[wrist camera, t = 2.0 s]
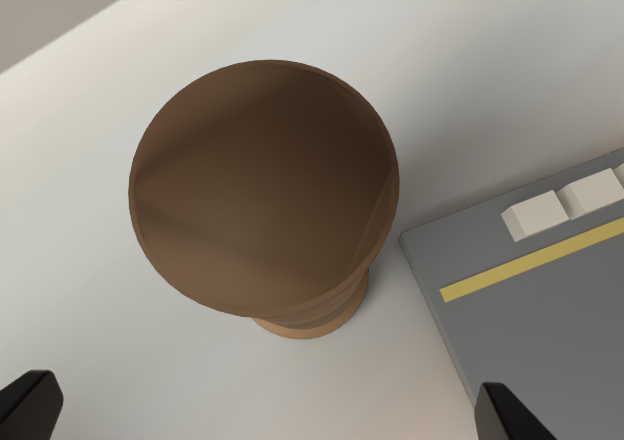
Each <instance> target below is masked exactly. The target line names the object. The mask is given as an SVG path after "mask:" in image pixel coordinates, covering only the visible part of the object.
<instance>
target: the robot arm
mask: <svg viewBox="0 0 624 440" xmlns="http://www.w3.org/2000/svg"><path fill="white" fill-rule="evenodd" d="M62 406H63V394H62V391H61V389H60V387H59V384H58V382H57V380H56V377H55V375H54V373H53V372H52V371H50V370H30V371H28V372H27V373H25V374H24V375H22V376H21V377H19V378H18V379H16V380H15V381H14V382H12V383H11V384H9V385H8V386H6V387H5V388H3V389H2V390H1V391H0V440H50V438H51V435H52V432H53V430H54V427H55V425H56V422H57V419H58V417H59V414H60V412H61V409H62ZM474 415H475V422H476V428H477V433H478V438H479V440H557V439H556V437H555V436H554V435H553V434H552V433H551V432H550V431H549V430H548V429H547V428H546V427H545V426H544V425H543V424H542V423H541V422H540V421H539V420H538V419H537V417H536V416H535V415H534V414H533V413H532V412H531V411H530V410H529V409H528V408H527V407H526V406H525V405H524V404H523V403H522V402H521V401H520V400H519V399H518V398H517V396H516V395H515V394H514V393H513V392H512V391H511V390H510V389H509V388H508V387H507V386H506V385H505V384H503V383H501V382H483V383H482V384H481V386H480V389H479V393H478V397H477V401H476V405H475V411H474Z"/></svg>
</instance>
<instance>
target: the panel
mask: <svg viewBox="0 0 624 440" xmlns="http://www.w3.org/2000/svg"><path fill="white" fill-rule="evenodd" d="M623 163H624V148H623V149H620V150H617V151H615V152H612V153H610V154H607V155H604V156H602V157H599V158H597V159H594V160H591V161H589V162H586V163H584V164H581V165H578V166H576V167H573V168H571V169H568V170H565V171H563V172H560V173H557V174H555V175H552V176H550V177H547V178H544V179H542V180H539V181H537V182H534V183H531V184H529V185H526V186H524V187H521V188H518V189H516V190H513V191H510V192H508V193H505V194H503V195H500V196H497V197H495V198H492V199H490V200H487V201H484V202H482V203H479V204H477V205H474V206H471V207H469V208H466V209H463V210H461V211H458V212H456V213H453V214H450V215H448V216H445V217H443V218H440V219H437V220H435V221H432V222H430V223H427V224H424V225H422V226H419V227H416V228H414V229H411V230H409V231H406V232H403V233H401V235H400V236H399V238H398V239H399V241H400V244H401V246H402V248H403V250H404V253H405V255H406V257H407V259H408V262H409V264H410V266H411V268H412V271H413V273H414V275H415V277H416V280H417V282H418V284H419V286H420V289H421V291H422V293H423V295H424V298H425V300H426V302H427V304H428V307H429V309H430V311H431V313H432V316H433V318H434V320H435V322H436V325H437V327H438V329H439V331H440V334H441V336H442V338H443V340H444V343H445V345H446V347H447V349H448V352H449V354H450V356H451V358H452V360H453V363H454V365H455V367H456V369H457V372H458V374H459V376H460V378H461V381H462V383H463V385H464V387H465V390H466V392H467V394H468V396H469V399H470V401H471V403H472V405H473V408H474V410H475V405H476V401H477V397H478V393H479V389H480V386H481V384H482V383H483V382H501V383H503V384H505V385H506V386H507V387H508V388H509V389H510V390H511V391H512V392H513V393H514V394H515V395H516V396H517V398H518V399H519V400H520V401H521V402H522V403H523V404H524V405H525V406H526V407H527V408H528V409H529V410H530V411H531V412H532V413H533V414H534V415H535V416H536V417H537V419H538V420H539V421H540V422H541V423H542V424H543V425H544V426H545V427H546V428H547V429H548V430H549V431H550V432H551V433H552V434H553V435H554V436H555V437H556V439H557V440H624V199H622V200H620V201H618V202H616V203H614V204H612V205H610V206H607V207H604V208H602V209H599V210H597V211H594V212H592V213H589V214H586V215H584V216H581V217H579V218H576V219H574V220H570V218H569V220H567V221H565V222H563V223H562V224H560V225H558V226H556V227H553V228H551V229H548V230H545V231H543V232H540V233H538V234H535V235H533V236H530V237H528V238H525V239H522V240H520V241H517V242H515V241H514V239H513V237H512V235H511V233H510V232H509V230H508V228H507V226H506V224H505V222H504V220H503V218H502V216H501V213H503V212H504V211H505V210H506V209H508V208H509V207H510V206H513V205H515V204H518V203H520V202H523V201H526V200H528V199H531V198H533V197H536V196H539V195H541V194H544V193H546V192H549V191H552V190H553V191H554V192H555V194H556V192H558V191H559V190H561V189H562V188H564V187H565V186H566V185H568V184H570V183H572V182H575V181H578V180H580V179H583V178H585V177H588V176H591V175H593V174H596V173H598V172H601V171H604V170H606V169H609V168H611V169H612V170H614V169H615V168H617V167H619V166H620V165H622V164H623ZM556 196H557V195H556ZM557 198H558V196H557ZM558 199H559V198H558ZM559 201H560V200H559ZM560 203H561V202H560ZM561 205H562V204H561ZM562 207H563V205H562ZM563 208H564V207H563ZM564 210H565V209H564ZM565 212H566V211H565ZM566 214H567V212H566ZM567 215H568V214H567ZM568 217H569V216H568Z"/></svg>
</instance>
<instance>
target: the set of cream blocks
mask: <svg viewBox="0 0 624 440" xmlns="http://www.w3.org/2000/svg"><path fill="white" fill-rule="evenodd" d="M556 195H557V196H558V198H559V199H558V198H557V196H556ZM622 199H624V163H623V164H622V165H620V166H619V167H617V168H615V169H614V170H612V169H611V168H609V169H606V170H604V171H601V172H598V173H596V174H593V175H591V176H588V177H585V178H583V179H580V180H578V181H575V182H572V183H570V184H568V185H566V186H565V187H564V188H562V189H561V190H559V191H558V192H556V194H555V192H554V191H553V190H552V191H549V192H546V193H544V194H541V195H539V196H536V197H533V198H531V199H528V200H526V201H523V202H520V203H518V204H515V205H513V206H510V207H509V208H508V209H506V210H505V211H504V212H503V213H501V216H502V218H503V220H504V222H505V224H506V226H507V228H508V230H509V232H510V233H511V235H512V237H513V239H514V241H515V242H517V241H520V240H522V239H525V238H528V237H530V236H533V235H535V234H538V233H540V232H543V231H545V230H548V229H551V228H553V227H556V226H558V225H560V224H562V223H563V222H565V221H567V220H569V218H570V220H574V219H576V218H579V217H581V216H584V215H586V214H589V213H592V212H594V211H597V210H599V209H602V208H604V207H607V206H610V205H612V204H614V203H616V202H618V201H620V200H622ZM559 200H560V201H559ZM560 202H561V203H560ZM561 204H562V205H563V207H564V208H563V207H562V205H561ZM564 209H565V210H564ZM565 211H566V212H567V214H568V215H567V214H566V212H565ZM568 216H569V217H568Z"/></svg>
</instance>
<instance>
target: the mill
mask: <svg viewBox="0 0 624 440" xmlns="http://www.w3.org/2000/svg"><path fill="white" fill-rule="evenodd" d="M128 196H129V210H130V215H131V220H132V225H133V228H134V231H135V234H136V237H137V240H138V242H139V244H140V246H141V248H142V250H143V252H144V254H145V255H146V257H147V259H148V260H149V261H150V263H151V264H152V265H153V267H154V268H155V270H156V271H157V272H158V273H159V274H160V275H161V276H162V277H163V278H164V279H165V280H166V281H167V282H168V283H169V284H170V285H171V286H173V287H174V288H175V289H177V290H178V291H179V292H180V293H182V294H183V295H185V296H187V297H188V298H190V299H192V300H194V301H196V302H197V303H199V304H202V305H204V306H207V307H209V308H212V309H215V310H217V311H221V312H224V313H229V314H233V315H237V316H241V317H251V318H252V319H253V320H254V321H255V322H256V323H257V324H259V325H260V326H261V327H263V328H264V329H266V330H268V331H270V332H271V333H274V334H276V335H279V336H282V337H286V338H292V339H311V338H317V337H320V336H324V335H326V334H328V333H331V332H333V331H334V330H336V329H337V328H339V327H341V326H342V325H343V324H344V323H345V322H346V321H348V319H349V318H350V317H351V316H352V315H353V314H354V312H355V311H356V309H357V308H358V306H359V305H360V303H361V301H362V299H363V297H364V294H365V291H366V287H367V282H368V267H369V266H370V265H371V263H372V262H373V260H374V259H375V257H376V256H377V254H378V253H379V251H380V249H381V247H382V245H383V243H384V241H385V239H386V237H387V235H388V233H389V231H390V228H391V225H392V222H393V219H394V216H395V213H396V208H397V203H398V197H399V169H398V161H397V157H396V153H395V148H394V145H393V143H392V140H391V138H390V135H389V132H388V130H387V129H386V127H385V125H384V123H383V121H382V120H381V118H380V116H379V115H378V114H377V112H376V111H375V110H374V108H373V107H372V106H371V104H370V103H369V102H368V101H367V100H366V99H365V98H364V97H363V96H362V95H361V94H360V93H359V92H358V91H356V90H355V89H354V88H352V87H351V86H350V85H349V84H347V83H346V82H344V81H343V80H341V79H339V78H338V77H336V76H334V75H332V74H330V73H328V72H326V71H323V70H321V69H319V68H316V67H313V66H309V65H306V64H303V63H297V62H291V61H285V60H255V61H248V62H242V63H237V64H233V65H230V66H227V67H223V68H220V69H218V70H215V71H213V72H211V73H208V74H206V75H204V76H202V77H201V78H199V79H197V80H195V81H193V82H192V83H190V84H189V85H188V86H186V87H185V88H183V89H182V90H181V91H179V92H178V93H177V94H176V95H175V96H174V97H172V98H171V99H170V100H169V101H168V102H167V103H166V104H165V105H164V106H163V107H162V109H161V110H160V111H159V112H158V113H157V114H156V116H155V117H154V118H153V120H152V121H151V123H150V124H149V126H148V127H147V129H146V131H145V133H144V135H143V137H142V139H141V141H140V142H139V145H138V147H137V150H136V153H135V156H134V159H133V162H132V167H131V172H130V177H129V190H128Z"/></svg>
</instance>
